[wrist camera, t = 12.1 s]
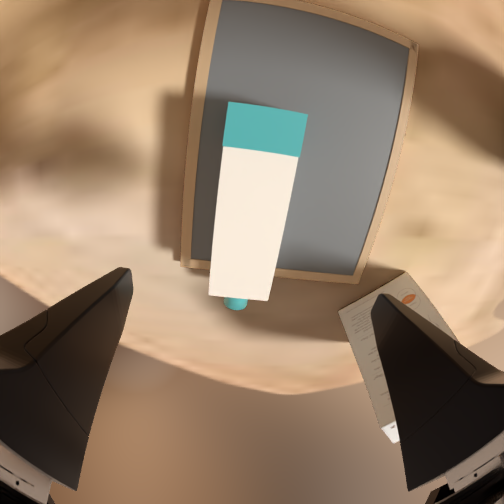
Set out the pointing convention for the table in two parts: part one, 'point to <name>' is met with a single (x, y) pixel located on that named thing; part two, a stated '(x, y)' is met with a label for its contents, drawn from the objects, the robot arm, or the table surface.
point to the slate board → (316, 132)
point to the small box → (365, 347)
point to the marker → (253, 199)
